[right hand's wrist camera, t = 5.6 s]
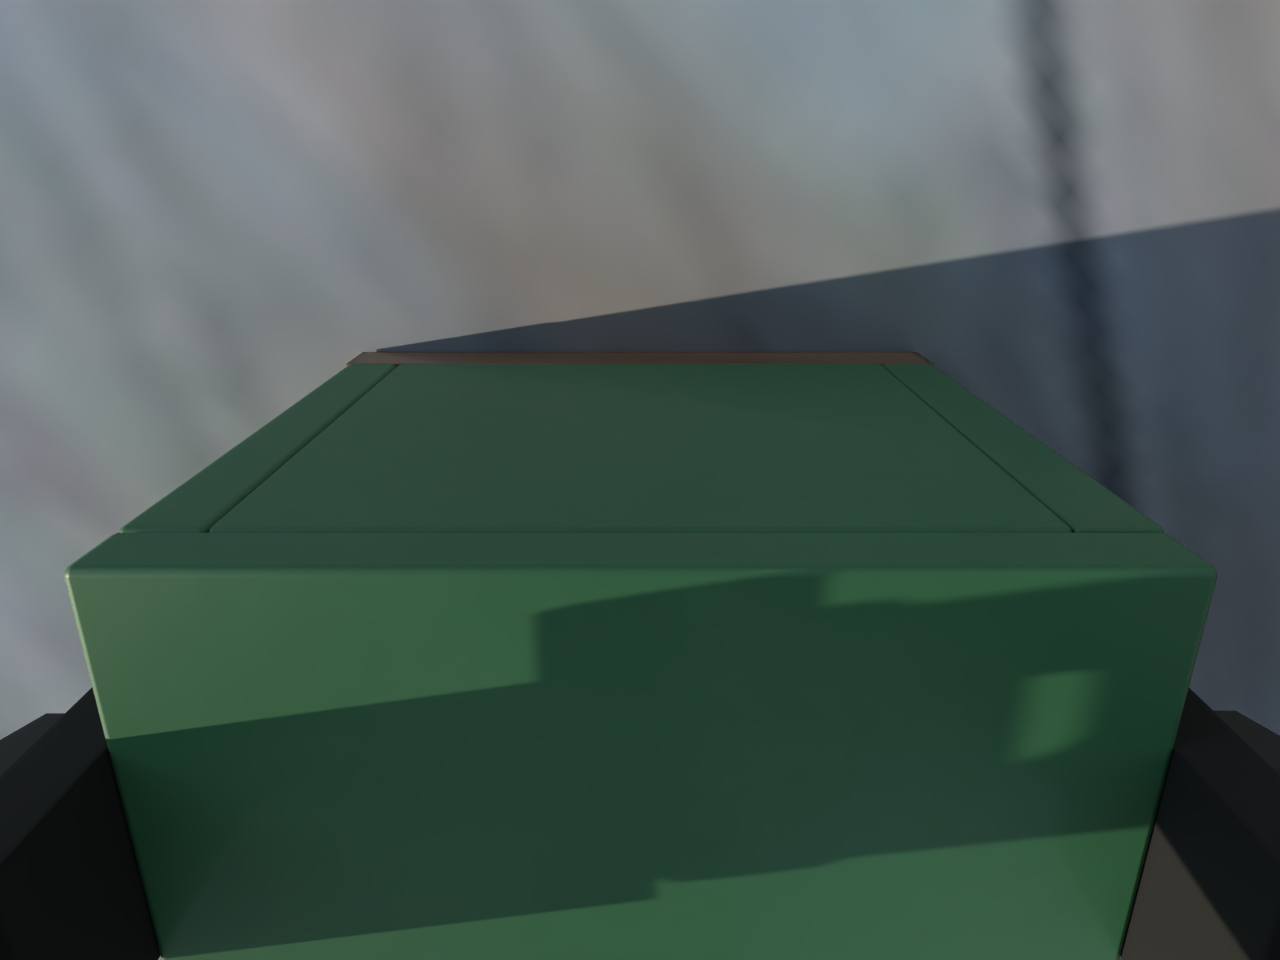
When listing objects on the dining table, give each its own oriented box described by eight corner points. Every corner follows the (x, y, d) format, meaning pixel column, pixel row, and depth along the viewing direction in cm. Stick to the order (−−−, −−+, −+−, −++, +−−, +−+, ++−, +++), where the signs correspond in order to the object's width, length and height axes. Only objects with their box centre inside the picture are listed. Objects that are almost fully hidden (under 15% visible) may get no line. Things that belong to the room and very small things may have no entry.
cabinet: (842, 1024, 22) (968, 1565, 14) (437, 1024, 22) (311, 1566, 14) (917, 352, 16) (1225, 568, 8) (362, 352, 16) (55, 567, 8)
